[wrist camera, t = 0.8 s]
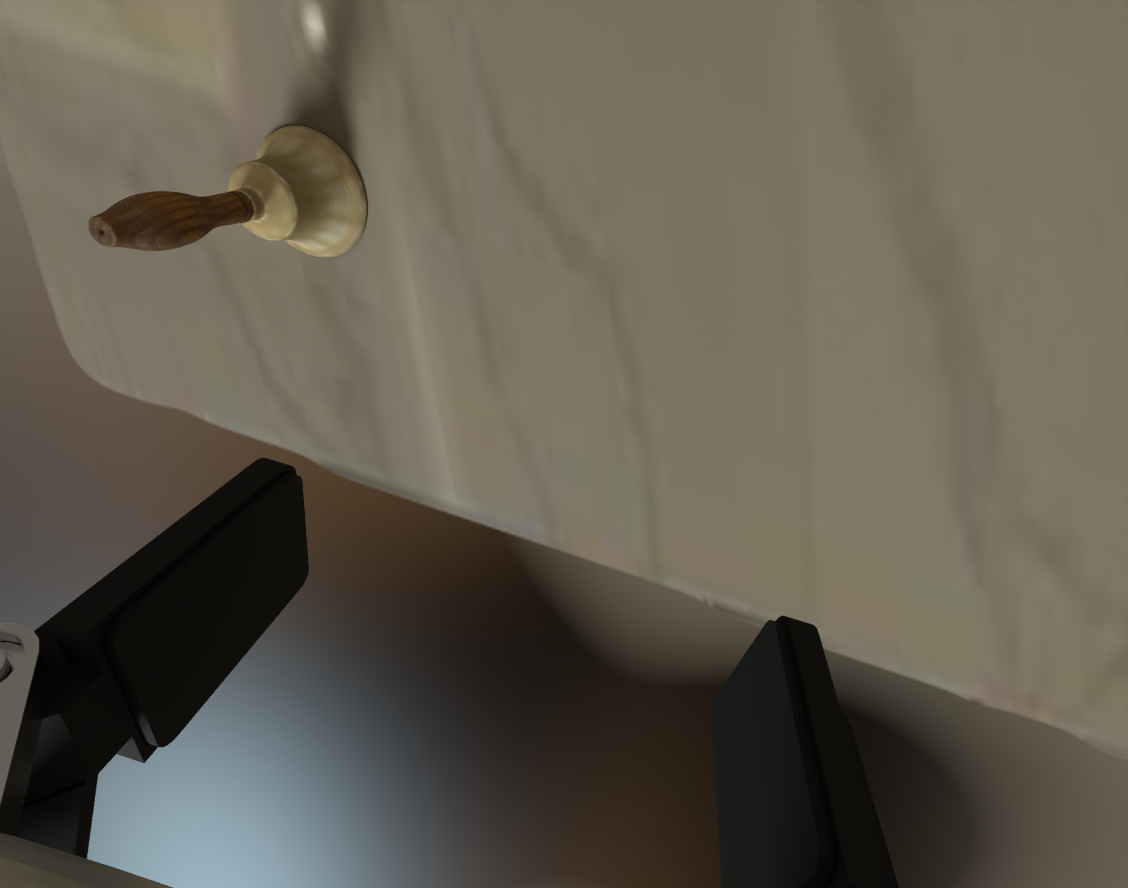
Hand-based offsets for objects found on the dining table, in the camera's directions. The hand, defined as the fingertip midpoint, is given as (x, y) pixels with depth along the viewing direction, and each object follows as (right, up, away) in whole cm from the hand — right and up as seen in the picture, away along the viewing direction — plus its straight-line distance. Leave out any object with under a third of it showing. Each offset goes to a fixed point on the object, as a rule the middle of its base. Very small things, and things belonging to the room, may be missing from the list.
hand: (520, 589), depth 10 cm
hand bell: (-17, +20, +26) cm, 37 cm away
